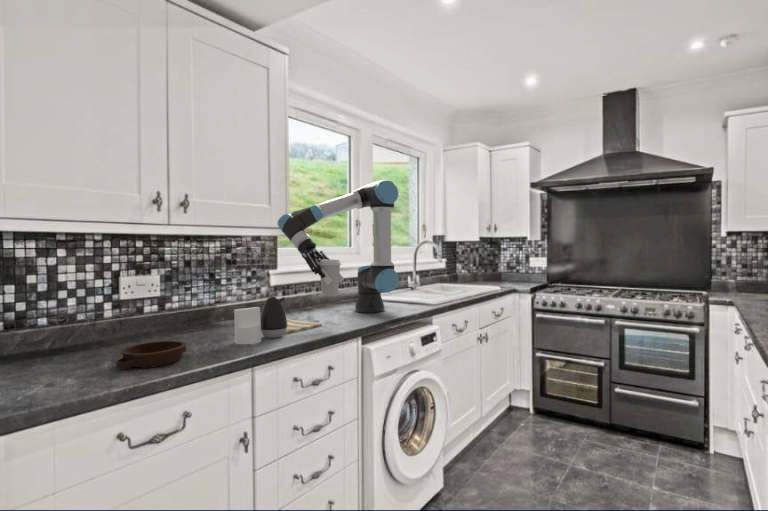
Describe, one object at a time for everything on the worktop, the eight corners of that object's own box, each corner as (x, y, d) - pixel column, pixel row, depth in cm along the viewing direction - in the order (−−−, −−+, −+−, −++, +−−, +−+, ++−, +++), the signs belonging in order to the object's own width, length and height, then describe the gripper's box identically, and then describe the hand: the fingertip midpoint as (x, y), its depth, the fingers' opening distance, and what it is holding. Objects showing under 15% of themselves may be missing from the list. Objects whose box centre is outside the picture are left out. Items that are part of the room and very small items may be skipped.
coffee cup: (344, 294, 195) (344, 259, 194) (336, 297, 185) (336, 260, 185) (323, 293, 197) (323, 259, 196) (314, 296, 188) (314, 260, 187)
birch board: (289, 321, 203) (289, 319, 203) (322, 325, 191) (322, 323, 191) (252, 329, 187) (252, 326, 187) (286, 334, 175) (286, 331, 175)
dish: (205, 357, 142) (205, 341, 142) (140, 376, 122) (139, 357, 122) (166, 352, 149) (166, 337, 149) (99, 369, 129) (99, 351, 129)
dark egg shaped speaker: (293, 336, 170) (292, 296, 170) (269, 341, 163) (268, 298, 162) (278, 333, 177) (277, 294, 177) (254, 337, 170) (253, 296, 169)
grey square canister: (253, 338, 168) (252, 306, 168) (265, 341, 162) (265, 308, 161) (230, 342, 162) (229, 308, 162) (242, 346, 155) (241, 311, 155)
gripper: (312, 249, 207) (343, 285, 201) (283, 250, 187) (316, 290, 181) (322, 237, 205) (354, 273, 199) (294, 237, 184) (328, 277, 179)
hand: (336, 281), depth 190 cm, fingers closed on coffee cup, 9 cm apart
